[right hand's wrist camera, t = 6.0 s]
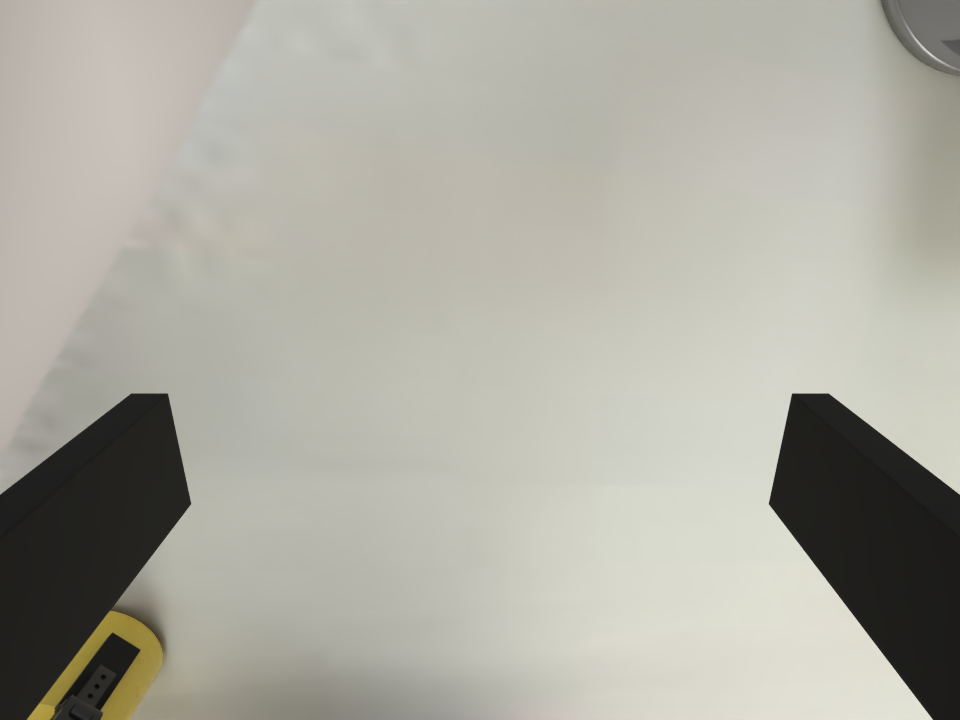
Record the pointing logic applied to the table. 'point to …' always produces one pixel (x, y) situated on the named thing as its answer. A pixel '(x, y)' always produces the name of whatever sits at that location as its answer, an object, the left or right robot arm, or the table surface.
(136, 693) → the tin
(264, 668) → the table surface
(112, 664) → the left robot arm
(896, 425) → the table surface
